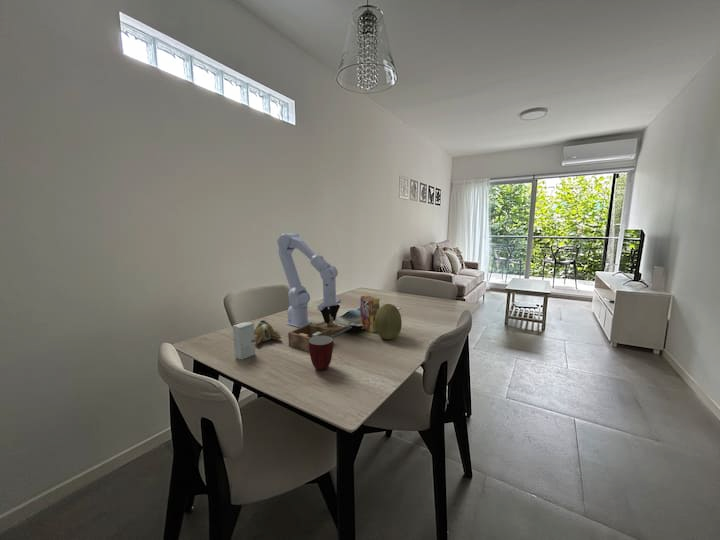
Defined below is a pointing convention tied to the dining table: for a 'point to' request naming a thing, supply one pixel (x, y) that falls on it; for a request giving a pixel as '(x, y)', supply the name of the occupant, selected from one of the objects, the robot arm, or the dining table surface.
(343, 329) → the mat
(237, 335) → the skincare box
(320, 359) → the mug
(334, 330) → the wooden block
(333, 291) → the robot arm
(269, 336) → the ceramic sculpture
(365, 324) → the candy box
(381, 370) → the dining table surface
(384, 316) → the fruit
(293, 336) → the box
